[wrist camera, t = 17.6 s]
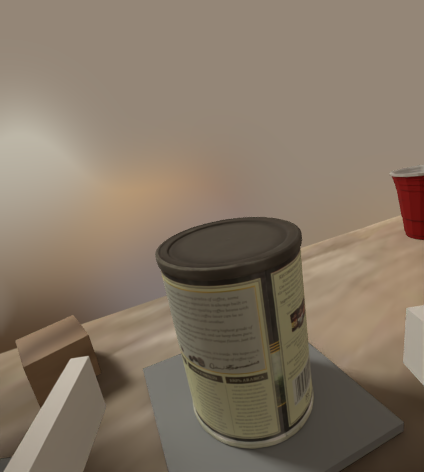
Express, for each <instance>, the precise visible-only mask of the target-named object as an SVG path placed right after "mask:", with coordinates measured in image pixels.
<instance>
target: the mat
mask: <svg viewBox="0 0 424 472" xmlns="http://www.w3.org/2000/svg"><path fill="white" fill-rule="evenodd" d="M308 345H309V356H310V369H311V380H312V386H313V392H314V400H313V406H312V410H311V413H310V415H309V417H308V419H307V421H306V422H305V424H304V425H303V427H302V428H301V429H300V430H299V431H298V432H297V433H296V434H294V435H293V436H292V437H290V438H289V439H287V440H285V441H283V442H281V443H279V444H276V445H271V446H269V447H262V448H256V449H249V448H239V447H234V446H230V445H228V444H225V443H223V442H220V441H219V440H217V439H215V438H214V437H213V436H212V435H210V434H209V433H207V432H206V431H205V430H204V429H203V427H202V426H201V424H200V423H199V421H198V419H197V417H196V415H195V412H194V407H193V400H192V395H191V391H190V387H189V383H188V379H187V375H186V371H185V367H184V363H183V359H182V355H181V354H179V355H176V356H174V357H171V358H169V359H166V360H164V361H161V362H159V363H156V364H154V365H151V366H149V367H146V368H144V369H143V371H144V375H145V379H146V383H147V387H148V391H149V395H150V399H151V403H152V407H153V411H154V415H155V419H156V423H157V427H158V431H159V435H160V439H161V443H162V447H163V451H164V455H165V459H166V464H167V468H168V472H339V471H341V470H342V469H344V468H346V467H347V466H349V465H350V464H352V463H353V462H355V461H357V460H358V459H360V458H361V457H363V456H364V455H366V454H368V453H369V452H371V451H372V450H374V449H376V448H377V447H379V446H380V445H382V444H383V443H385V442H387V441H388V440H390V439H391V438H393V437H395V436H396V435H398V434H399V433H401V432H402V431H404V422H403V421H402V420H401V419H399V418H398V417H397V416H396V415H395V414H393V413H392V412H391V411H390V410H389V409H387V408H386V407H385V406H384V405H383V404H381V403H380V402H379V401H378V400H377V399H375V398H374V397H373V396H372V395H371V394H369V393H368V392H367V391H366V390H365V389H363V388H362V387H361V386H360V385H359V384H358V383H356V382H355V381H354V380H353V379H352V378H350V377H349V376H348V375H347V374H346V373H344V372H343V371H342V370H341V369H340V368H338V367H337V366H336V365H335V364H334V363H332V362H331V361H330V360H329V359H328V358H326V357H325V356H324V355H323V354H322V353H320V352H319V351H318V350H317V349H316V348H314V347H313V346H312V345H311V344H310V343H308Z"/></svg>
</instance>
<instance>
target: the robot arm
mask: <svg viewBox="0 0 424 472" xmlns="http://www.w3.org/2000/svg"><path fill="white" fill-rule="evenodd" d="M403 363H404V364H405V365H406V366H407V368H408V369H409V370H410V371H411V372H412V373H413V374H414V375H415V376H416V378H417V379H418V380H419V381H420V382H421V383H422V384H423V385H424V305H423V306H416V307H410V308H406V324H405V341H404V358H403ZM105 409H106V404H105V401H104V399H103V396H102V393H101V390H100V387H99V384H98V381H97V378H96V375H95V373H94V370H93V367H92V364H91V361H90V358H89V356H85V357H78V358H72V359H70V360H69V362H68V364H67V365H66V367H65V369H64V371H63V372H62V374H61V376H60V377H59V379H58V381H57V382H56V384H55V386H54V387H53V389H52V391H51V392H50V394H49V396H48V398H47V399H46V401H45V403H44V404H43V406H42V408H41V409H40V411H39V413H38V414H37V416H36V418H35V419H34V421H33V423H32V424H31V426H30V428H29V430H28V431H27V433H26V435H25V436H24V438H23V440H22V441H21V443H20V445H19V446H18V448H17V450H16V451H15V453H14V455H13V457H9V458H2V459H0V472H83V471H84V468H85V465H86V463H87V460H88V457H89V454H90V451H91V448H92V446H93V443H94V440H95V437H96V434H97V431H98V429H99V426H100V423H101V420H102V417H103V415H104V412H105Z"/></svg>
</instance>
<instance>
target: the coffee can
mask: <svg viewBox="0 0 424 472" xmlns="http://www.w3.org/2000/svg"><path fill="white" fill-rule="evenodd" d="M301 241H302V235H301V231H300V229H299V228H298V227H297V226H296V225H295V224H293V223H291V222H288V221H285V220H281V219H276V218H267V217H247V218H246V217H245V218H234V219H226V220H220V221H216V222H212V223H207V224H203V225H200V226H196V227H193V228H190V229H188V230H185V231H183V232H180V233H178V234H176V235H174V236H172V237H170V238H169V239H167V240H166V241H164V242H163V243H162V244H161V245H160V246H159V247H158V249H157V250H156V254H155V255H156V261H157V263H158V266H159V268H160V269H161V273H162V277H163V281H164V285H165V289H166V294H167V298H168V302H169V306H170V310H171V314H172V318H173V322H174V326H175V330H176V334H177V338H178V343H179V347H180V351H181V355H182V359H183V363H184V367H185V371H186V375H187V379H188V383H189V387H190V391H191V395H192V400H193V407H194V412H195V415H196V417H197V419H198V421H199V423H200V424H201V426H202V427H203V429H204V430H205V431H206V432H207V433H209V434H210V435H212V436H213V437H214V438H215V439H217V440H219V441H220V442H223V443H225V444H228V445H230V446H234V447H239V448H249V449H256V448H262V447H269V446H271V445H276V444H279V443H281V442H283V441H285V440H287V439H289V438H290V437H292V436H293V435H294V434H296V433H297V432H298V431H299V430H300V429H301V428H302V427H303V425H304V424H305V422H306V421H307V419H308V417H309V415H310V413H311V410H312V406H313V400H314V392H313V386H312V380H311V369H310V356H309V345H308V334H307V322H306V310H305V298H304V287H303V275H302V263H301V251H300V246H301Z"/></svg>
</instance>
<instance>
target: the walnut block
mask: <svg viewBox="0 0 424 472" xmlns="http://www.w3.org/2000/svg"><path fill="white" fill-rule="evenodd" d="M16 345H17V348H18V352H19V355H20V358H21V362H22V365H23V368H24V371H25V373H26V375H27V378H28V380H29V382H30V384H31V387H32V389H33V391H34V394H35V396H36V398H37V401H38V403H39V405H40V407H41V408H42V406H43V404H44V403H45V401H46V399H47V398H48V396H49V394H50V392H51V391H52V389H53V387H54V386H55V384H56V382H57V381H58V379H59V377H60V376H61V374H62V372H63V371H64V369H65V367H66V365H67V364H68V362H69V360H70V359H72V358H78V357H85V356H89V358H90V361H91V364H92V367H93V370H94V373H95V375H96V376H97V375H99V374H100V373H101V370H100V367H99V364H98V361H97V358H96V355H95V352H94V350H93V347H92V344H91V341H90V338H89V335H88V334H87V332H86V331H85V330H84V328H83V327H82V326H81V325H80V323H79V322H78V321H77V319H76V318H75V317H74V316H73V315H72V316H70V317H67V318H65V319H63V320H61V321H58V322H56V323H54V324H52V325H49V326H47V327H45V328H43V329H41V330H38V331H36V332H34V333H32V334H29V335H27V336H25V337H23V338H20V339H18V340H16Z"/></svg>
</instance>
